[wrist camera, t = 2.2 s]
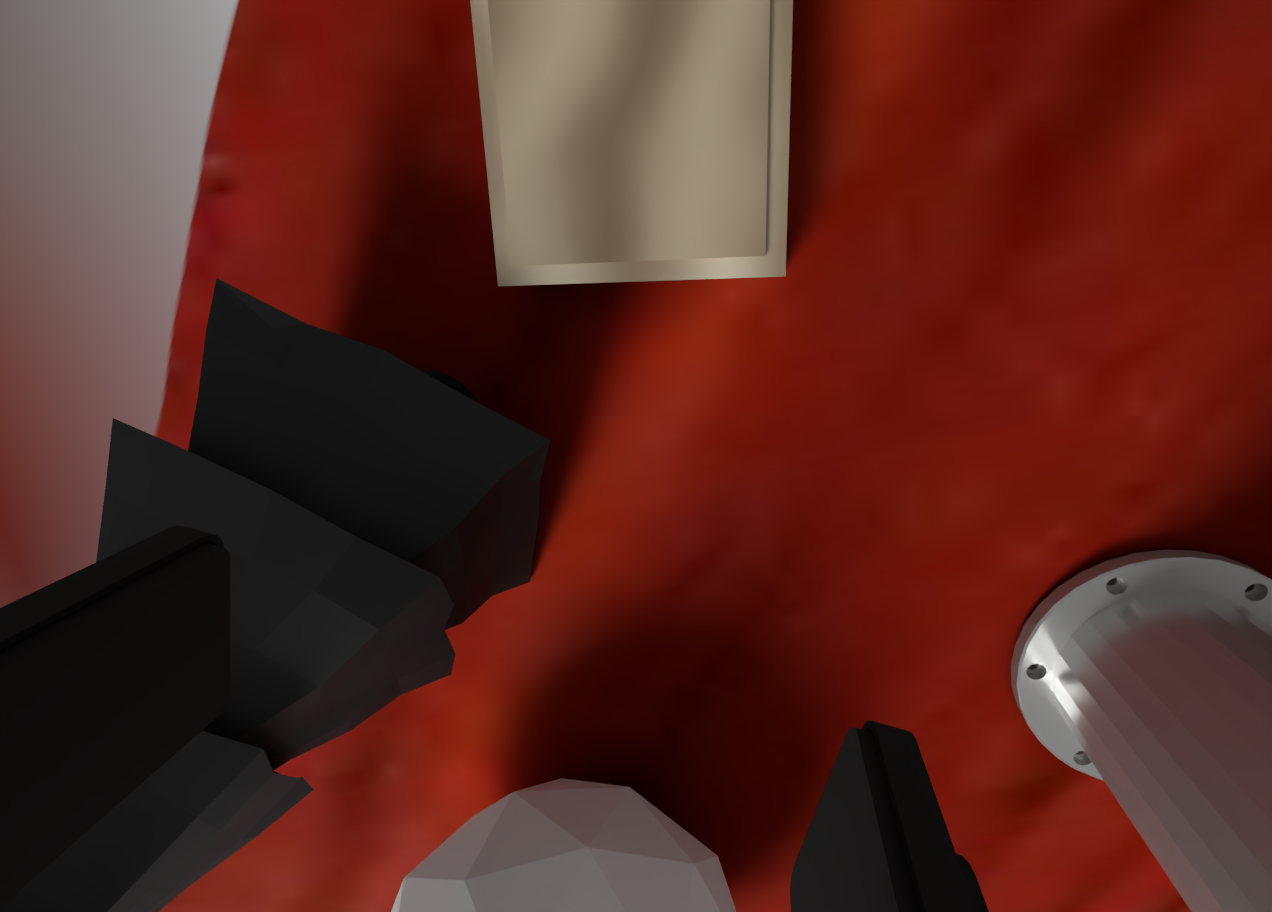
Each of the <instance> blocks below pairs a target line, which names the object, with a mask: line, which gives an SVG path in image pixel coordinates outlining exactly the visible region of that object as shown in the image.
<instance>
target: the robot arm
mask: <svg viewBox="0 0 1272 912" xmlns="http://www.w3.org/2000/svg"><path fill="white" fill-rule="evenodd" d="M1011 683H1012V689H1013V692H1014V696H1015V699H1016V703H1017V706H1018V708H1019V709H1020V711H1021V713H1022V715H1023V717H1024V719H1025V721H1026V722H1027V724H1028V726H1029V727H1030V729H1031V730H1032V731H1033V733H1034V734H1035V736H1036V737H1037V738H1038V740H1039V741H1040V743H1042V744H1043V745H1044V746H1045V747H1046V748H1047V749H1048V750H1049V751H1050V752H1051V753H1052V754H1053V755H1055V756H1056V757H1057V758H1058V759H1060V760H1061V761H1063V762H1064V763H1066V764H1067V765H1069V766H1070V767H1072V768H1074V769H1076V770H1078V771H1080V772H1083V773H1085V774H1088V775H1090V776H1093V777H1095V778H1097V779H1100V780H1104V781H1105V783H1106V784H1107V786H1108V787H1109V789H1110V790H1111V792H1112V793H1113V795H1114V796H1115V798H1116V799H1117V801H1118V802H1119V804H1120V805H1121V807H1122V808H1123V810H1124V811H1125V813H1126V814H1127V816H1128V817H1129V819H1130V820H1131V822H1132V823H1133V825H1134V826H1135V828H1136V829H1137V831H1138V832H1139V834H1140V835H1141V837H1142V838H1143V840H1144V841H1145V843H1146V844H1147V846H1148V847H1149V849H1150V850H1151V852H1152V853H1153V855H1154V856H1155V858H1156V859H1157V861H1158V862H1159V864H1160V865H1161V867H1162V868H1163V870H1164V871H1165V873H1166V874H1167V876H1168V877H1169V879H1170V880H1171V882H1172V883H1173V885H1174V886H1175V888H1176V889H1177V891H1178V892H1179V894H1180V895H1181V897H1182V898H1183V900H1184V901H1185V903H1186V904H1187V906H1188V907H1189V909H1190V910H1191V912H1272V579H1270V578H1269V577H1267V576H1265V575H1263V574H1262V573H1260V572H1258V571H1257V570H1255V569H1253V568H1252V567H1250V566H1248V565H1245V564H1242V563H1240V562H1237V561H1235V560H1232V559H1229V558H1227V557H1224V556H1220V555H1215V554H1210V553H1205V552H1200V551H1194V550H1156V551H1148V552H1139V553H1133V554H1130V555H1126V556H1122V557H1118V558H1115V559H1111V560H1107V561H1105V562H1103V563H1100V564H1098V565H1096V566H1094V567H1091V568H1089V569H1087V570H1085V571H1082V572H1080V573H1079V574H1077V575H1076V576H1074V577H1072V578H1071V579H1069V580H1068V581H1066V582H1065V583H1063V584H1062V585H1060V586H1059V587H1057V588H1056V589H1055V590H1054V591H1053V592H1052V593H1051V594H1050V595H1049V596H1048V597H1046V598H1045V599H1044V600H1043V601H1042V602H1041V603H1040V604H1039V605H1038V606H1037V608H1036V609H1035V610H1034V612H1033V613H1032V614H1031V616H1030V617H1029V619H1028V620H1027V621H1026V623H1025V624H1024V626H1023V628H1022V631H1021V633H1020V635H1019V637H1018V639H1017V641H1016V644H1015V648H1014V653H1013V657H1012V662H1011ZM229 696H230V553H229V552H228V550H227V549H225V548H224V544H223V542H222V540H221V538H220V537H218V536H217V535H214V534H211V533H207V532H204V531H200V530H197V529H193V528H190V527H186V526H179V525H176V526H173V527H170V528H168V529H165V530H163V531H161V532H159V533H157V534H155V535H153V536H151V537H149V538H147V539H144V540H142V541H140V542H138V543H136V544H134V545H132V546H130V547H128V548H126V549H123V550H121V551H119V552H117V553H115V554H113V555H111V556H109V557H107V558H105V559H103V560H100V561H98V562H96V563H94V564H92V565H90V566H88V567H86V568H84V569H82V570H79V571H77V572H75V573H73V574H71V575H69V576H67V577H65V578H63V579H61V580H58V581H56V582H55V583H52V584H50V585H48V586H46V587H44V588H42V589H40V590H38V591H35V592H33V593H31V594H30V595H27V596H25V597H23V598H21V599H19V600H16V601H14V602H13V603H10V604H8V605H6V606H4V607H2V608H0V907H2V906H3V905H4V904H5V903H6V902H7V901H8V900H10V899H11V898H12V897H13V896H14V895H15V894H16V893H18V892H19V891H20V890H21V889H22V888H23V887H24V886H25V885H27V884H28V883H29V882H30V881H31V880H32V879H33V878H35V877H36V876H37V875H38V874H39V873H40V872H41V871H43V870H44V869H45V868H46V867H47V866H48V865H49V864H51V863H52V862H53V861H54V860H55V859H56V858H57V857H59V856H60V855H61V854H62V853H63V852H64V851H65V850H66V849H68V848H69V847H70V846H71V845H72V844H73V843H74V842H76V841H77V840H78V839H79V838H80V837H81V836H82V835H84V834H85V833H86V832H87V831H88V830H89V829H90V828H92V827H93V826H94V825H95V824H96V823H97V822H98V821H100V820H101V819H102V818H103V817H104V816H105V815H106V814H107V813H109V812H110V811H111V810H112V809H113V808H114V807H115V806H117V805H118V804H119V803H120V802H121V801H122V800H123V799H125V798H126V797H127V796H128V795H129V794H130V793H131V792H133V791H134V790H135V789H136V788H137V787H138V786H139V785H141V784H142V783H143V782H144V781H145V780H146V779H147V778H148V777H150V776H151V775H152V774H153V773H154V772H155V771H156V770H158V769H159V768H160V767H161V766H162V765H163V764H164V763H166V762H167V761H168V760H169V759H170V758H171V757H172V756H174V755H175V754H176V753H177V752H178V751H179V750H180V749H182V748H183V747H184V746H185V745H186V744H187V743H188V742H189V741H191V740H192V739H193V738H194V737H195V736H196V735H197V734H199V733H200V732H201V731H202V730H203V729H204V728H205V727H207V726H208V725H209V724H210V723H211V722H212V721H213V720H215V719H216V718H217V717H218V716H219V714H220V713H221V712H222V710H223V709H224V707H225V706H226V704H227V702H228V699H229ZM790 900H791V912H989V911H988V908H987V905H986V903H985V900H984V897H983V895H982V892H981V889H980V886H979V884H978V881H977V878H976V876H975V874H974V872H973V870H972V868H971V866H970V864H969V862H968V861H967V860H966V859H965V858H964V857H963V856H961V855H958V854H956V853H955V850H954V847H953V844H952V841H951V839H950V836H949V833H948V830H947V827H946V824H945V821H944V819H943V816H942V813H941V810H940V807H939V804H938V801H937V798H936V796H935V793H934V790H933V787H932V784H931V781H930V778H929V776H928V773H927V770H926V767H925V764H924V761H923V758H922V756H921V753H920V750H919V747H918V744H917V741H916V739H915V737H914V735H913V734H912V733H911V732H909V731H906V730H902V729H899V728H895V727H892V726H888V725H885V724H881V723H878V722H874V721H867V722H866V723H865V724H864V725H863V727H862V729H859V728H855V727H851V728H850V729H849V730H848V732H847V734H846V737H845V739H844V742H843V744H842V747H841V749H840V752H839V754H838V757H837V759H836V762H835V764H834V767H833V769H832V772H831V774H830V777H829V779H828V782H827V784H826V787H825V789H824V792H823V794H822V797H821V799H820V802H819V804H818V807H817V809H816V812H815V814H814V817H813V819H812V822H811V824H810V827H809V829H808V832H807V834H806V837H805V839H804V842H803V844H802V847H801V849H800V852H799V854H798V857H797V859H796V862H795V864H794V867H793V872H792V877H791V885H790Z"/></svg>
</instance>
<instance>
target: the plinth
mask: <svg viewBox="0 0 1272 912" xmlns="http://www.w3.org/2000/svg"><path fill="white" fill-rule="evenodd" d="M470 2H471V12H472V22H473V33H474V43H475V54H476V64H477V74H478V85H479V95H480V105H481V116H482V126H483V136H484V147H485V157H486V167H487V178H488V188H489V198H490V209H491V219H492V229H493V240H494V250H495V260H496V271H497V281H498V286H524V285H552V284H581V283H609V282H638V281H666V280H695V279H723V278H751V277H780V276H786V245H787V208H788V171H789V134H790V97H791V60H792V23H793V0H470Z"/></svg>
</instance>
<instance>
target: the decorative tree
mask: <svg viewBox="0 0 1272 912" xmlns="http://www.w3.org/2000/svg"><path fill="white" fill-rule="evenodd" d="M549 444H550V440H549V439H547V438H545V437H543V436H541V435H539V434H537V433H535V432H533V431H531V430H530V429H528V428H526V427H524V426H522V425H520V424H518V423H516V422H514V421H512V420H510V419H508V418H506V417H504V416H502V415H501V414H499V413H497V412H495V411H493V410H491V409H489V408H487V407H485V406H483V405H481V404H479V403H477V401H476V399H475V397H474V396H473V395H472V393H471V392H470V391H469V390H468V389H467V388H466V387H465V386H464V385H462V384H461V383H460V382H459V381H457V380H456V379H454V378H452V377H451V376H449V375H447V374H444V373H442V372H439V371H435V370H424V371H420V370H418V369H416V368H415V367H413V366H411V365H409V364H408V363H406V362H404V361H402V360H400V359H399V358H397V357H395V356H393V355H392V354H390V353H388V352H386V351H385V350H382V349H379V348H376V347H373V346H370V345H367V344H364V343H361V342H358V341H355V340H352V339H349V338H346V337H344V336H341V335H338V334H335V333H332V332H329V331H326V330H323V329H320V328H317V327H314V326H311V325H308V324H305V323H303V322H301V321H299V320H298V319H296V318H294V317H292V316H290V315H288V314H286V313H284V312H282V311H280V310H278V309H276V308H274V307H272V306H270V305H268V304H266V303H264V302H262V301H260V300H258V299H256V298H254V297H252V296H251V295H249V294H247V293H245V292H243V291H241V290H239V289H237V288H235V287H233V286H231V285H229V284H227V283H225V282H223V281H221V280H219V279H217V280H216V285H215V289H214V294H213V299H212V304H211V309H210V314H209V319H208V324H207V329H206V337H205V345H204V353H203V361H202V369H201V377H200V385H199V392H198V400H197V405H196V410H195V416H194V421H193V427H192V432H191V438H190V443H189V448H188V451H187V450H185V449H182V448H180V447H178V446H175V445H173V444H171V443H169V442H166V441H164V440H162V439H159V438H157V437H155V436H152V435H150V434H148V433H145V432H143V431H141V430H139V429H136V428H134V427H132V426H130V425H127V424H125V423H122V422H120V421H118V420H116V419H114V418H113V423H112V433H111V442H110V452H109V461H108V471H107V480H106V489H105V497H104V505H103V513H102V522H101V529H100V537H99V545H98V553H97V561H96V562H98V561H100V560H103V559H105V558H107V557H109V556H111V555H113V554H115V553H117V552H119V551H121V550H123V549H126V548H128V547H130V546H132V545H134V544H136V543H138V542H140V541H142V540H144V539H147V538H149V537H151V536H153V535H155V534H157V533H159V532H161V531H163V530H165V529H168V528H170V527H173V526H176V525H179V526H186V527H190V528H193V529H197V530H200V531H204V532H207V533H211V534H214V535H217V536H218V537H220V538H221V540H222V542H223V544H224V548H225V549H227V550H228V552H229V553H230V696H229V699H228V702H227V704H226V706H225V707H224V709H223V710H222V712H221V713H220V714H219V716H218V717H217V718H216V719H215V720H213V721H212V722H211V723H210V724H209V725H208V726H207V727H205V728H204V729H203V730H202V731H201V732H200V733H199V734H197V735H196V736H195V737H194V738H193V739H192V740H191V741H189V742H188V743H187V744H186V745H185V746H184V747H183V748H182V749H180V750H179V751H178V752H177V753H176V754H175V755H174V756H172V757H171V758H170V759H169V760H168V761H167V762H166V763H164V764H163V765H162V766H161V767H160V768H159V769H158V770H156V771H155V772H154V773H153V774H152V775H151V776H150V777H148V778H147V779H146V780H145V781H144V782H143V783H142V784H141V785H139V786H138V787H137V788H136V789H135V790H134V791H133V792H131V793H130V794H129V795H128V796H127V797H126V798H125V799H123V800H122V801H121V802H120V803H119V804H118V805H117V806H115V807H114V808H113V809H112V810H111V811H110V812H109V813H107V814H106V815H105V816H104V817H103V818H102V819H101V820H100V821H98V822H97V823H96V824H95V825H94V826H93V827H92V828H90V829H89V830H88V831H87V832H86V833H85V834H84V835H82V836H81V837H80V838H79V839H78V840H77V841H76V842H74V843H73V844H72V845H71V846H70V847H69V848H68V849H66V850H65V851H64V852H63V853H62V854H61V855H60V856H59V857H57V858H56V859H55V860H54V861H53V862H52V863H51V864H49V865H48V866H47V867H46V868H45V869H44V870H43V871H41V872H40V873H39V874H38V875H37V876H36V877H35V878H33V879H32V880H31V881H30V882H29V883H28V884H27V885H25V886H24V887H23V888H22V889H21V890H20V891H19V892H18V893H16V894H15V895H14V896H13V897H12V898H11V899H10V900H8V901H7V902H6V903H5V904H4V905H3V906H2V907H0V912H158V911H160V910H161V909H162V908H163V907H164V906H166V905H167V904H168V903H169V902H170V901H172V900H173V899H174V898H175V897H176V896H178V895H179V894H180V893H181V892H182V891H184V890H185V889H186V888H187V887H189V886H190V885H191V884H193V883H194V882H195V881H197V880H198V879H199V878H201V877H202V876H203V875H205V874H206V873H208V872H209V871H210V870H212V869H213V868H214V867H216V866H217V865H218V864H220V863H221V862H222V861H224V860H225V859H227V858H228V857H229V856H231V855H232V854H233V853H235V852H236V851H237V850H239V849H240V848H241V847H243V846H244V845H246V844H247V843H248V842H250V841H251V840H252V839H254V838H255V837H256V836H258V835H259V834H260V833H261V832H262V831H264V830H265V829H266V828H267V827H269V826H270V825H271V824H272V823H273V822H275V821H276V820H277V819H278V818H279V817H281V816H282V815H283V814H284V813H286V812H287V811H288V810H289V809H290V808H292V807H293V806H294V805H295V804H297V803H298V802H299V801H300V800H301V799H303V798H304V797H305V796H306V795H307V794H309V793H310V792H311V791H312V790H314V789H313V788H312V787H311V786H310V785H309V784H308V783H307V782H306V781H305V780H304V778H303V777H299V778H295V777H290V776H285V775H281V774H279V773H277V772H274V771H273V770H275V769H276V768H278V767H279V766H281V765H283V764H284V763H286V762H287V761H289V760H291V759H293V758H295V757H297V756H299V755H301V754H303V753H305V752H307V751H309V750H311V749H313V748H315V747H317V746H319V745H321V744H324V743H326V742H328V741H330V740H332V739H334V738H336V737H338V736H340V735H342V734H344V733H346V732H348V731H350V730H352V729H353V728H355V727H356V726H357V725H359V724H360V723H362V722H363V721H364V720H366V719H367V718H369V717H370V716H371V715H373V714H374V713H376V712H377V711H379V710H380V709H381V708H383V707H384V706H386V705H387V704H388V703H390V702H391V701H393V700H394V699H396V698H397V697H398V696H400V695H401V694H404V693H406V692H409V691H411V690H414V689H416V688H419V687H421V686H423V685H426V684H428V683H431V682H433V681H436V680H438V679H441V678H443V677H445V676H448V675H450V674H451V671H452V666H453V662H454V657H455V653H454V650H453V648H452V646H451V644H450V642H449V639H448V637H447V635H446V633H445V630H446V629H448V628H451V627H453V626H456V625H459V624H461V623H463V622H464V621H465V620H466V619H467V618H468V617H469V616H470V615H471V614H473V613H474V612H475V611H476V610H477V609H478V608H479V607H480V606H481V605H482V604H484V603H485V602H486V601H487V600H488V599H489V598H490V597H491V596H492V595H495V594H498V593H500V592H503V591H506V590H509V589H511V588H514V587H517V586H520V585H522V584H525V583H528V582H530V578H531V569H532V561H533V553H534V546H535V540H536V533H537V527H538V520H539V499H540V481H541V477H542V473H543V469H544V465H545V461H546V457H547V453H548V448H549Z"/></svg>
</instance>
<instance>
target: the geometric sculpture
mask: <svg viewBox="0 0 1272 912" xmlns="http://www.w3.org/2000/svg"><path fill="white" fill-rule="evenodd" d="M391 912H736V909H735V906H734V903H733V900H732V897H731V894H730V891H729V888H728V885H727V882H726V879H725V876H724V873H723V870H722V867H721V864H720V861H719V858H718V856H717V855H716V854H715V853H714V852H712V851H711V850H710V849H708V848H707V847H706V846H705V845H703V844H702V843H701V842H700V841H698V840H697V839H696V838H694V837H693V836H692V835H691V834H689V833H688V832H687V831H685V830H684V829H683V828H682V827H680V826H679V825H678V824H676V823H675V822H674V821H673V820H671V819H670V818H669V817H668V816H666V815H665V814H664V813H662V812H661V811H660V810H659V809H657V808H656V807H655V806H653V805H652V804H651V803H650V802H648V801H647V800H646V799H644V798H643V797H642V796H641V795H639V794H638V793H637V792H636V791H634V790H633V789H632V788H630V787H627V786H619V785H611V784H603V783H595V782H587V781H580V780H572V779H564V778H561V779H557V780H554V781H550V782H547V783H543V784H539V785H536V786H532V787H529V788H525V789H521V790H518V791H514V792H512V793H510V794H509V795H507V796H505V797H504V798H502V799H500V800H499V801H497V802H496V803H494V804H492V805H491V806H489V807H487V808H486V809H484V810H482V811H481V812H479V813H477V814H476V815H474V816H472V817H471V818H470V819H469V820H468V821H467V822H466V823H465V824H463V825H462V826H461V827H460V828H459V829H458V830H457V831H456V832H455V833H453V834H452V835H451V836H450V837H449V838H448V839H447V840H446V841H444V842H443V843H442V844H441V845H440V846H439V847H438V848H437V849H436V850H434V851H433V852H432V853H431V854H430V855H429V856H428V857H427V858H425V859H424V860H423V861H422V862H421V863H420V864H419V865H418V866H417V867H415V868H414V869H413V870H412V871H411V872H410V873H409V874H408V875H406V876H405V877H404V879H403V882H402V885H401V887H400V890H399V892H398V895H397V898H396V900H395V903H394V905H393V908H392V910H391Z"/></svg>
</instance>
